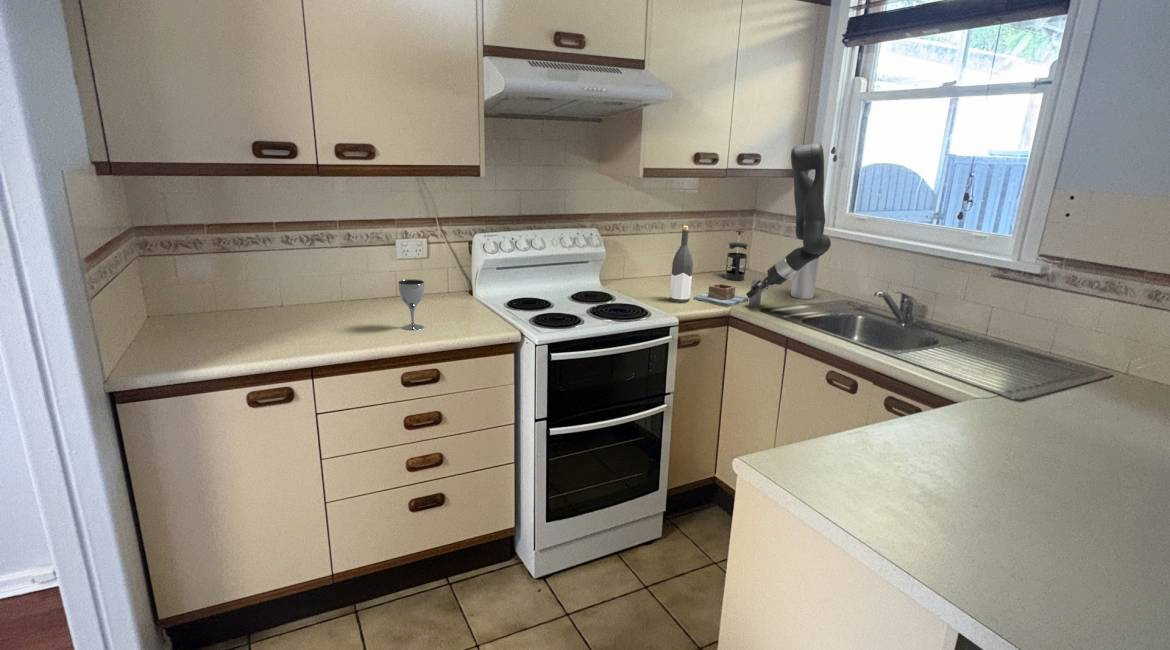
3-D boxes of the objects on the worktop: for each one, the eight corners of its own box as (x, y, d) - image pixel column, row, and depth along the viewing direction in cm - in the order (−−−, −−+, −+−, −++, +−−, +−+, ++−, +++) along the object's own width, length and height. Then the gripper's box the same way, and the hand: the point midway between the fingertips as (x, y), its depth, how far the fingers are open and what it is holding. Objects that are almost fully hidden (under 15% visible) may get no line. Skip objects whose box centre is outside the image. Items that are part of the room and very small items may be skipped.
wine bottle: (688, 298, 257) (694, 225, 249) (690, 303, 250) (697, 227, 241) (668, 297, 258) (674, 224, 249) (670, 302, 250) (676, 226, 241)
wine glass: (395, 326, 204) (393, 281, 200) (416, 322, 210) (415, 278, 206) (408, 332, 199) (407, 285, 195) (430, 327, 205) (429, 282, 200)
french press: (746, 282, 294) (752, 232, 288) (726, 280, 295) (731, 231, 289) (742, 276, 306) (747, 229, 299) (722, 275, 306) (727, 228, 300)
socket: (714, 293, 268) (715, 280, 267) (748, 300, 258) (749, 287, 256) (693, 299, 257) (694, 285, 256) (727, 307, 247) (729, 292, 245)
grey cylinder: (751, 304, 253) (754, 279, 250) (761, 306, 250) (764, 281, 247) (746, 305, 250) (749, 281, 247) (756, 308, 247) (759, 283, 244)
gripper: (786, 260, 245) (754, 285, 256) (768, 264, 235) (736, 290, 246) (797, 276, 243) (764, 300, 254) (779, 280, 233) (747, 305, 244)
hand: (751, 295), depth 250 cm, fingers closed on grey cylinder, 4 cm apart
